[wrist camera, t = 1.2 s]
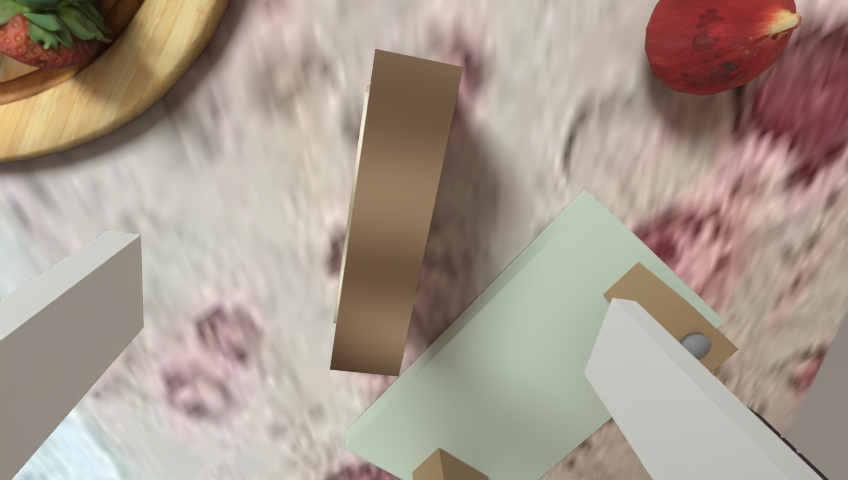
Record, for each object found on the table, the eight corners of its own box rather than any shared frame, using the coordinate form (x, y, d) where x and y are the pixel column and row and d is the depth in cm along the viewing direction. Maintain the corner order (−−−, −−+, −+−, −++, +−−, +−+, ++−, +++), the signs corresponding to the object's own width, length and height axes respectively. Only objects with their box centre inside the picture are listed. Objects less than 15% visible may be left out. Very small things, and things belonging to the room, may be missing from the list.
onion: (668, 108, 27) (777, 130, 19) (596, 50, 25) (685, 50, 18) (741, 16, 25) (890, 2, 18) (669, -52, 24) (799, -99, 16)
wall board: (583, 189, 28) (643, 229, 22) (710, 310, 33) (790, 373, 26) (345, 431, 34) (337, 519, 28) (480, 507, 38) (500, 598, 32)
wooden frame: (374, 49, 24) (370, 48, 15) (435, 61, 25) (467, 68, 16) (343, 268, 29) (326, 369, 20) (395, 275, 29) (402, 376, 20)
